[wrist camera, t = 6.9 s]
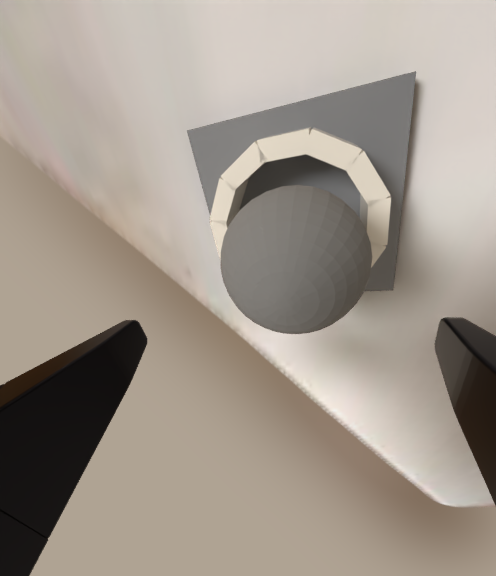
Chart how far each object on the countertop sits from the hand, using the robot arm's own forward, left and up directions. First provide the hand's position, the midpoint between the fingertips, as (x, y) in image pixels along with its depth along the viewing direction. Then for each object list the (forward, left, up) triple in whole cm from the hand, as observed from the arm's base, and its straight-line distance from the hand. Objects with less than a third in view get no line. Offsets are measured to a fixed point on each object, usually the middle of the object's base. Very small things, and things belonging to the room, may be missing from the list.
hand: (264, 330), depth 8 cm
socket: (0, 0, -12) cm, 12 cm away
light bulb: (0, 0, -11) cm, 11 cm away
